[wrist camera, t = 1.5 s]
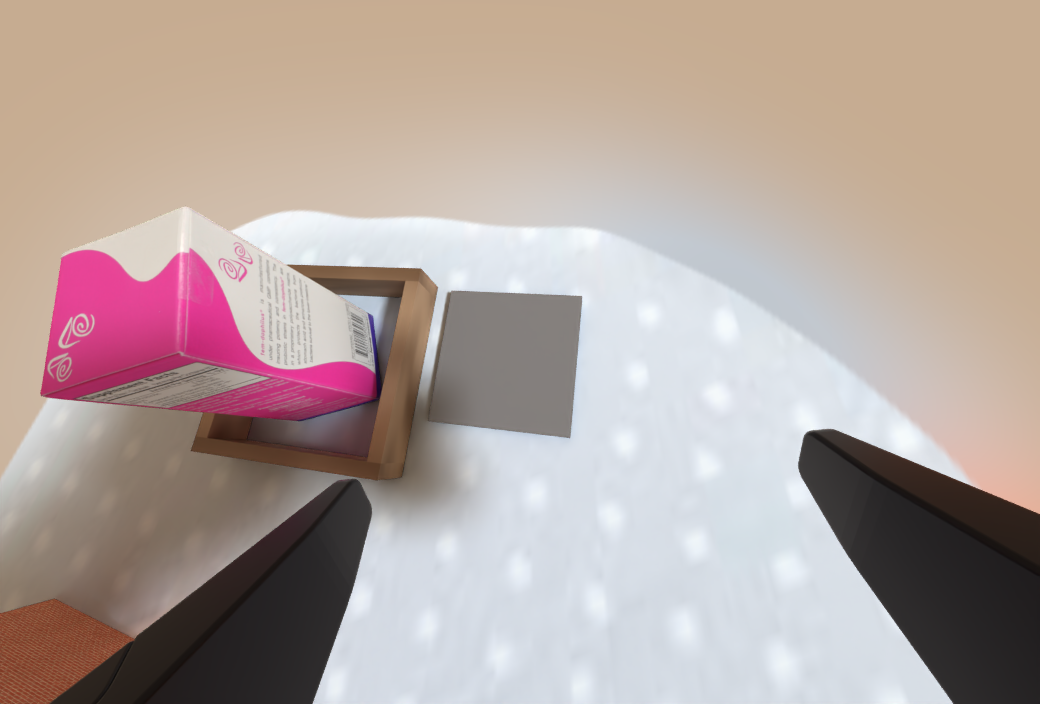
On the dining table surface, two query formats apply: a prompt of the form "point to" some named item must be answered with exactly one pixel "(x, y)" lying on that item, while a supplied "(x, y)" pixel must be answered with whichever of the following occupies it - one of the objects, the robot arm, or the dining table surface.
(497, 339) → the gray mat
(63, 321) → the supplement box
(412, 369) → the walnut crate
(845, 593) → the dining table surface
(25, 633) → the house
